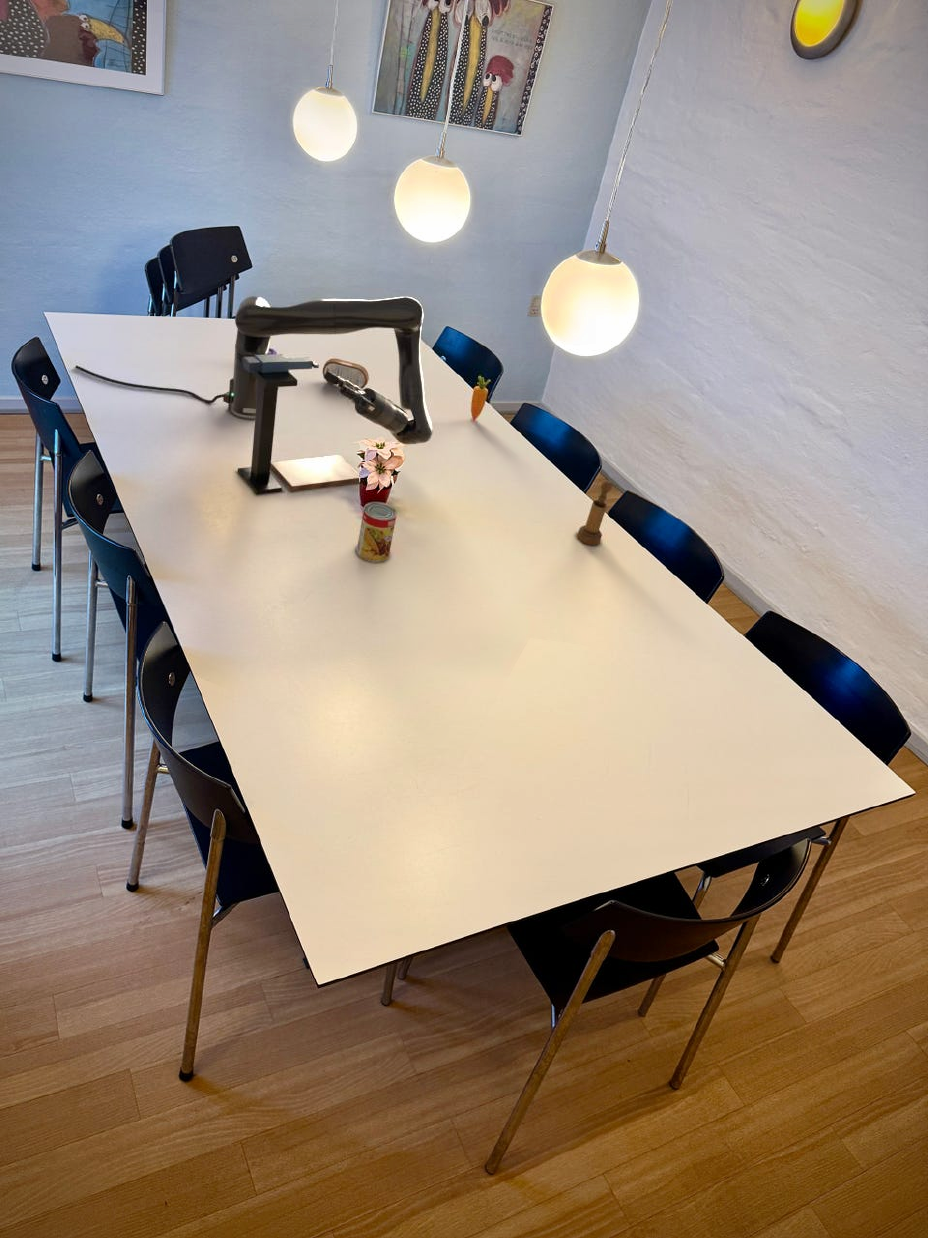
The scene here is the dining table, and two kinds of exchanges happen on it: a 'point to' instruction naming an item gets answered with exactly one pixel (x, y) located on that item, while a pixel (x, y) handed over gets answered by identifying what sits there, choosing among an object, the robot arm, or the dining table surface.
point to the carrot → (479, 398)
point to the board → (315, 472)
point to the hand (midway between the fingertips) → (333, 381)
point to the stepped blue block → (277, 363)
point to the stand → (265, 431)
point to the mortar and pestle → (595, 518)
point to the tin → (347, 372)
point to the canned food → (376, 531)
